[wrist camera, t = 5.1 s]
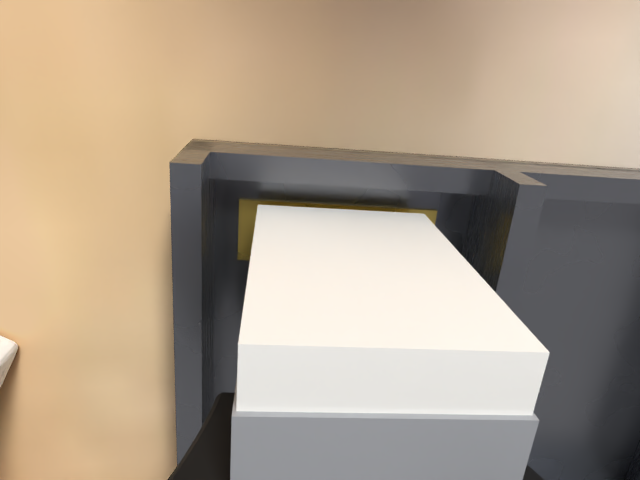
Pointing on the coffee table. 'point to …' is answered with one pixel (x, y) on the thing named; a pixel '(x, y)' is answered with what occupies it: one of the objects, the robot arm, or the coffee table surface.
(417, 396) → the white and grey box
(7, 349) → the ink box
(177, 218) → the rack
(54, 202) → the coffee table surface
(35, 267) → the coffee table surface
